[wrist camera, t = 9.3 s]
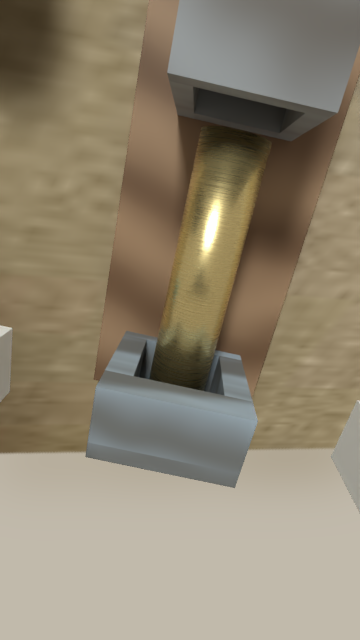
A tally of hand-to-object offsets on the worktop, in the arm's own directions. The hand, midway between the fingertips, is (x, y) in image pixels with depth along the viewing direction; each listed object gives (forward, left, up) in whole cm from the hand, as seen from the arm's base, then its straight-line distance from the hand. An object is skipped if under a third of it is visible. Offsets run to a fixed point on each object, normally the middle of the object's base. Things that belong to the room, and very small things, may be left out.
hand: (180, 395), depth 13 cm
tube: (-2, 0, -10) cm, 10 cm away
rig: (-6, 0, -13) cm, 14 cm away
